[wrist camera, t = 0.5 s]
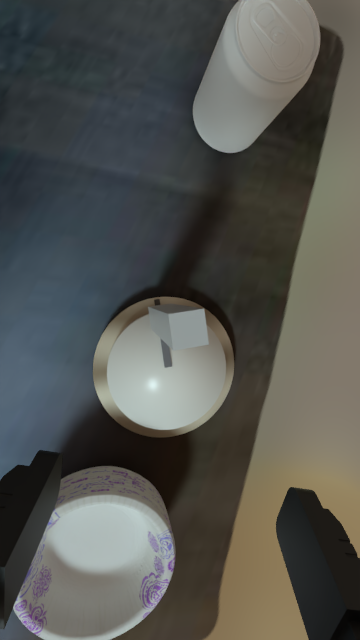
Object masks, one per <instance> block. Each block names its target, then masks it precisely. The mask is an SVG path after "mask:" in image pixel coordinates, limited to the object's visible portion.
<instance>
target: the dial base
mask: <svg viewBox="0 0 360 640" xmlns="http://www.w3.org/2000/svg"><path fill="white" fill-rule="evenodd" d="M170 303H171V304H177V305H184V306H190V307H197V308H203V307H202V306H200V305H198V304H196V303H194V302H192V301H189V300H186V299H182V298H176V297H154V298H149V299H145V300H142V301H139V302H137V303H135V304H133V305H131V306H129V307H127V308H126V309H124V310H123V311H122V312H120V313H119V314H118V315H117V316H116V317H115V318H114V319H113V320H112V321H111V322H110V323H109V325H108V326H107V327H106V329H105V331H104V332H103V334H102V336H101V338H100V340H99V342H98V345H97V348H96V351H95V356H94V361H93V378H94V384H95V389H96V392H97V395H98V397H99V400H100V401H101V403H102V405H103V407H104V408H105V410H106V411H107V412H108V413H109V415H110V416H111V417H112V418H113V419H114V420H115V421H116V422H118V423H119V424H120V425H122V426H123V427H125V428H127V429H128V430H130V431H132V432H135V433H138V434H140V435H144V436H149V437H172V436H177V435H181V434H184V433H187V432H189V431H191V430H194V429H195V428H197V427H199V426H200V425H202V424H203V423H204V422H206V421H207V420H208V419H209V418H210V417H212V416H213V415H214V414H215V412H216V411H217V410H218V409H219V407H220V406H221V405H222V403H223V401H224V400H225V398H226V396H227V394H228V392H229V389H230V386H231V383H232V379H233V374H234V355H233V349H232V345H231V342H230V339H229V337H228V335H227V333H226V331H225V329H224V328H223V326H222V325H221V323H220V322H219V321H218V320H217V318H216V317H215V316H214V315H212V314H211V313H210V312H209V311H208V310H206V309H205V308H204V311H205V318H206V325H207V326H209V327H210V328H211V330H212V331H213V332H214V333H215V334H216V336H217V337H218V339H219V341H220V343H221V345H222V348H223V351H224V354H225V359H226V376H225V381H224V385H223V388H222V391H221V393H220V395H219V397H218V399H217V400H216V402H215V403H214V405H213V406H212V407H211V408H210V410H209V411H208V412H207V413H205V414H204V415H203V416H202V417H201V418H199V419H198V420H196V421H194V422H193V423H191V424H189V425H186V426H184V427H180V428H177V429H170V430H158V429H152V428H147V427H144V426H142V425H139V424H137V423H136V422H134V421H132V420H131V419H129V418H128V417H127V416H126V415H125V414H124V413H123V412H122V411H121V410H120V409H119V408H118V406H117V405H116V403H115V402H114V400H113V398H112V396H111V393H110V390H109V386H108V381H107V365H108V359H109V355H110V352H111V349H112V346H113V344H114V342H115V341H116V339H117V337H118V336H119V335H120V333H121V332H122V331H123V330H124V329H125V328H126V327H127V326H128V325H129V324H130V323H132V322H133V321H135V320H136V319H138V318H140V317H142V316H144V315H146V314H149V310H148V307H150V306H156V305H163V304H170Z"/></svg>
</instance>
